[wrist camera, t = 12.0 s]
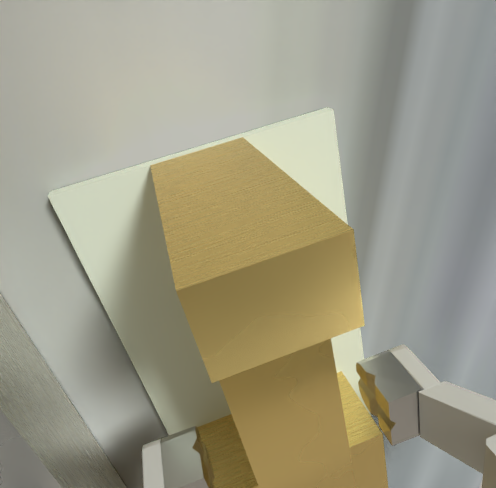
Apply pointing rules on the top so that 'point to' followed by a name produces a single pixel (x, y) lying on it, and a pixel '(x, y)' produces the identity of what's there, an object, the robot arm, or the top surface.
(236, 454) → the brass hook
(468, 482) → the top surface
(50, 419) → the toggle switch block
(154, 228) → the sage mat
